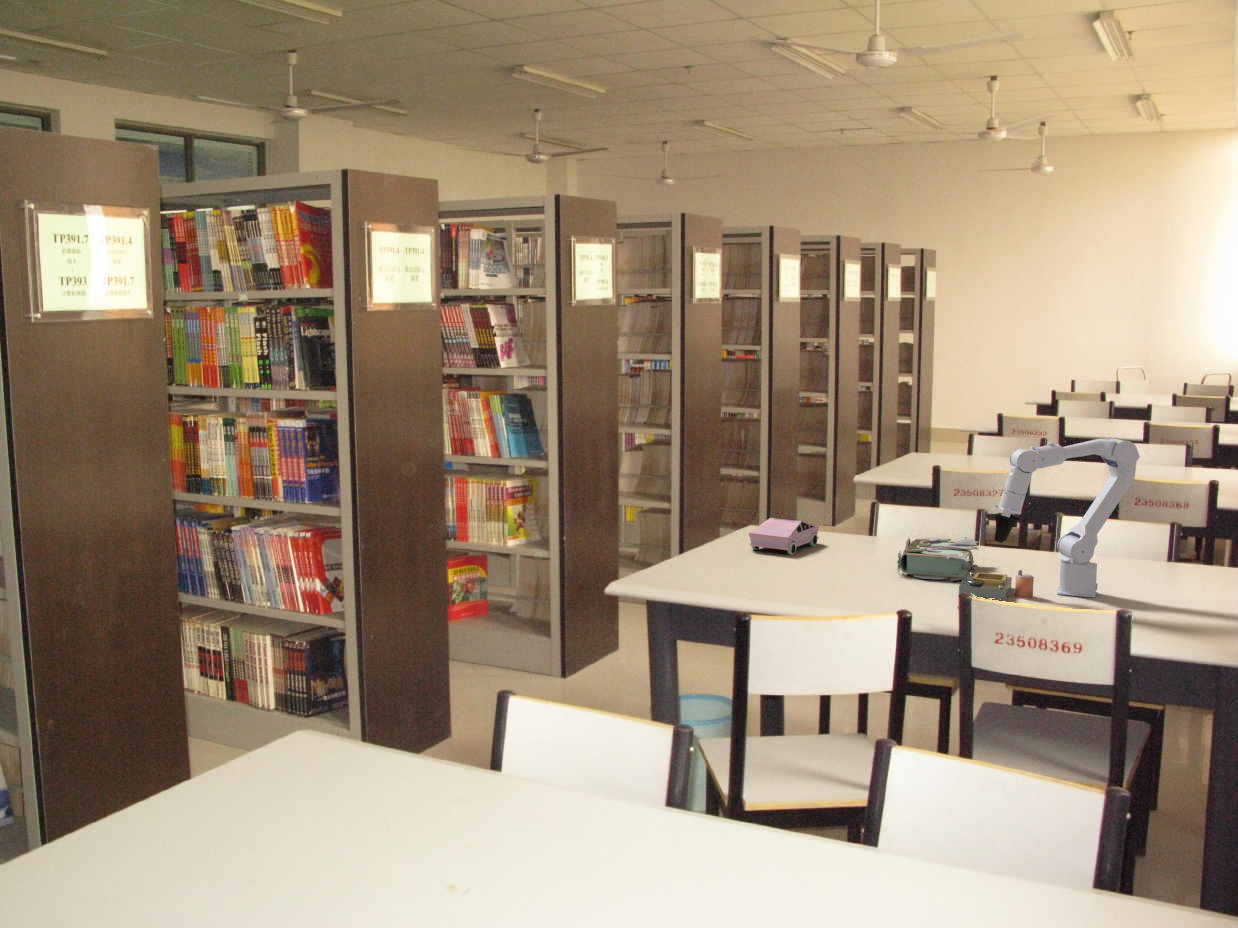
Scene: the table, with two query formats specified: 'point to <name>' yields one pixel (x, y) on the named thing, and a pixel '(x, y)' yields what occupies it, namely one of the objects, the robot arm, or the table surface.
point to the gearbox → (986, 585)
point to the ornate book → (937, 558)
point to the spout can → (1024, 585)
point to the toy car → (783, 534)
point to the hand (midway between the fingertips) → (999, 540)
